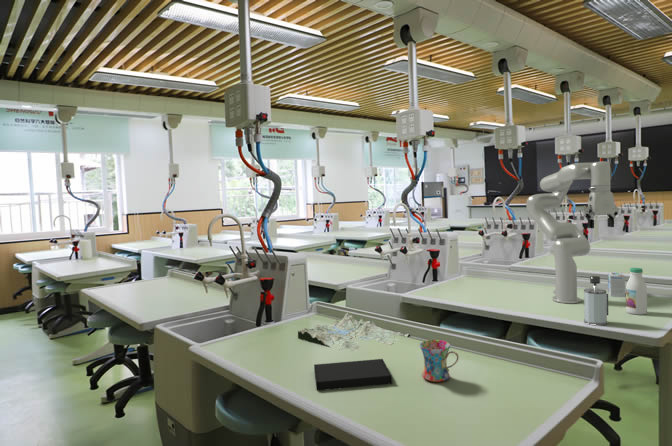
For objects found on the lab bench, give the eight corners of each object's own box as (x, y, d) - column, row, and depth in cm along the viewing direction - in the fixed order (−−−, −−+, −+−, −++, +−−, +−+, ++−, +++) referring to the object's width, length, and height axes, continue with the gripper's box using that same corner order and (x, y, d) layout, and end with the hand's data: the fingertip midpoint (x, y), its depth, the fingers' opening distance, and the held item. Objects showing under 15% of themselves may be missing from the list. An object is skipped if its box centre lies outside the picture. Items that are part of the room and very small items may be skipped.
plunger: (584, 311, 185) (584, 275, 184) (596, 310, 186) (596, 275, 185) (594, 315, 180) (593, 278, 179) (606, 314, 180) (606, 277, 179)
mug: (416, 380, 135) (414, 347, 134) (427, 370, 143) (426, 338, 142) (454, 388, 128) (453, 353, 128) (463, 376, 136) (462, 343, 135)
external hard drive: (392, 385, 133) (391, 375, 133) (316, 391, 131) (316, 382, 131) (382, 367, 148) (382, 358, 147) (314, 373, 145) (313, 364, 145)
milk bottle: (643, 310, 196) (643, 266, 195) (649, 315, 189) (649, 269, 188) (623, 310, 199) (623, 266, 198) (629, 314, 192) (628, 269, 191)
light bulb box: (607, 292, 234) (607, 272, 234) (622, 292, 231) (622, 272, 231) (610, 296, 225) (610, 275, 224) (625, 297, 222) (625, 276, 221)
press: (579, 320, 187) (579, 288, 186) (599, 318, 188) (599, 287, 187) (593, 326, 178) (593, 293, 178) (614, 324, 180) (614, 291, 179)
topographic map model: (410, 337, 178) (409, 325, 177) (363, 359, 157) (363, 345, 156) (345, 322, 202) (345, 312, 202) (298, 339, 181) (297, 328, 181)
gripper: (588, 190, 191) (589, 229, 192) (624, 188, 193) (624, 227, 194) (577, 190, 198) (577, 228, 199) (611, 188, 200) (612, 226, 201)
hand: (600, 227), depth 196 cm, fingers open, 9 cm apart
